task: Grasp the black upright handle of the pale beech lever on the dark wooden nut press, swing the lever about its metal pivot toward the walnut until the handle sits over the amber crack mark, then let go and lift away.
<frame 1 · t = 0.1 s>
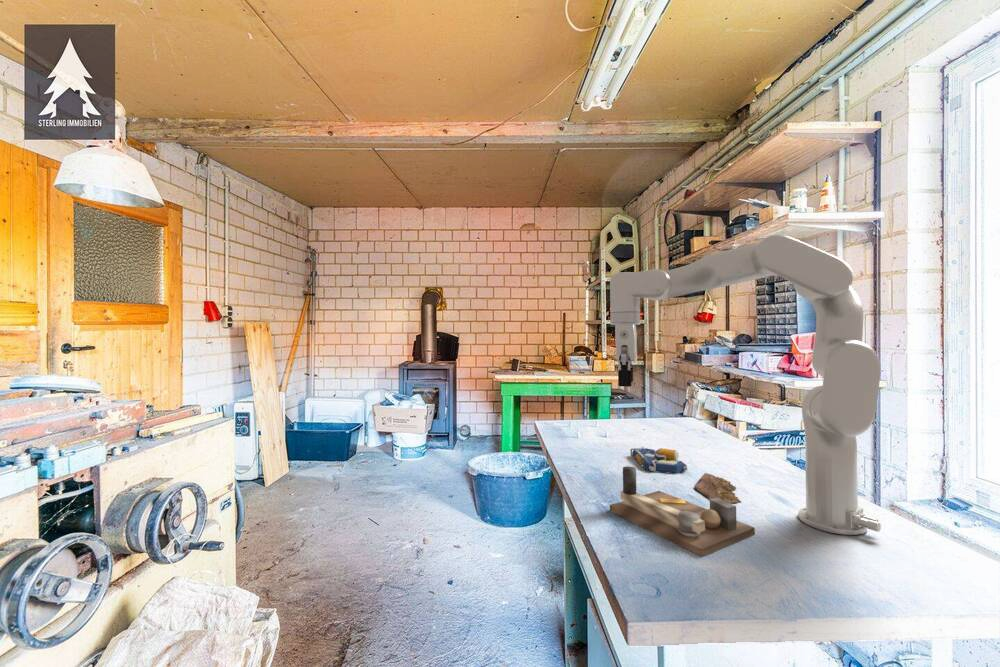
hand: (625, 383, 116), 31 cm above the table, tool pointing down, fingers open, 9 cm apart
lever: (658, 497, 101), point 7 cm above the table, hinge at 0.0°
wooden fragment: (714, 489, 124), on the table
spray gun: (660, 465, 147), on the table
press board: (677, 521, 103), on the table
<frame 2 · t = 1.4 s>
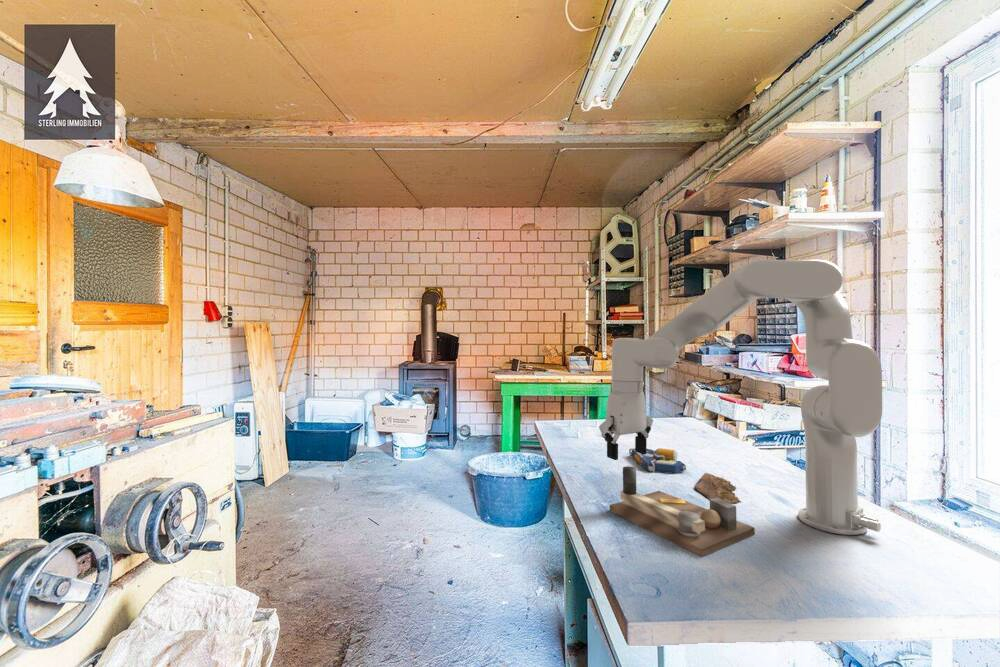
hand: (626, 455, 109), 14 cm above the table, tool pointing down, fingers open, 9 cm apart
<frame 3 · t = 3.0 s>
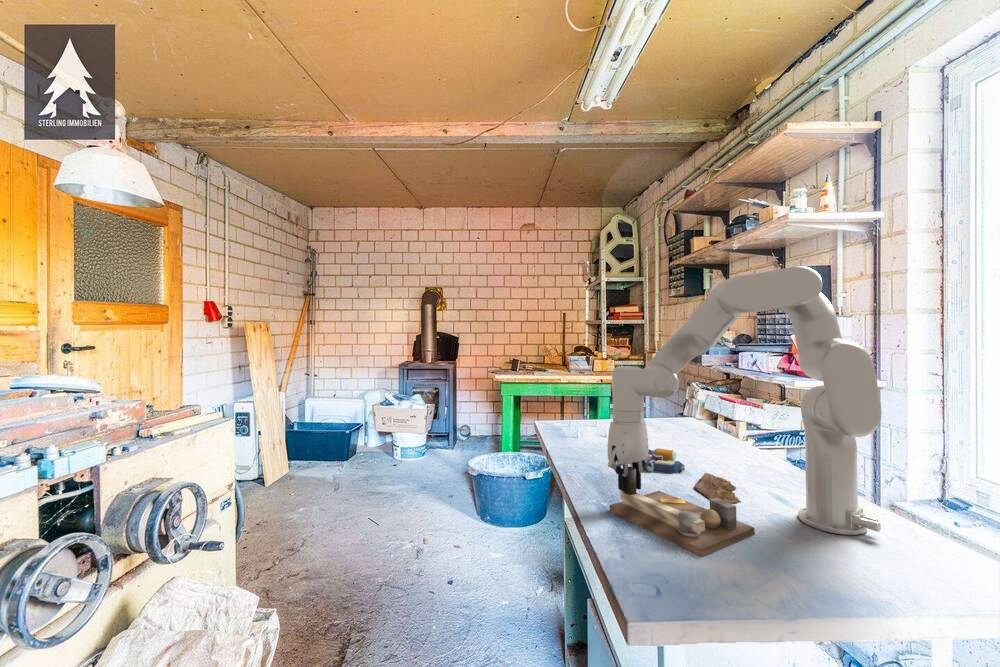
hand: (629, 488, 109), 6 cm above the table, tool pointing down, fingers closed on lever, 3 cm apart
lever: (658, 497, 101), point 7 cm above the table, hinge at 0.0°, touching gripper
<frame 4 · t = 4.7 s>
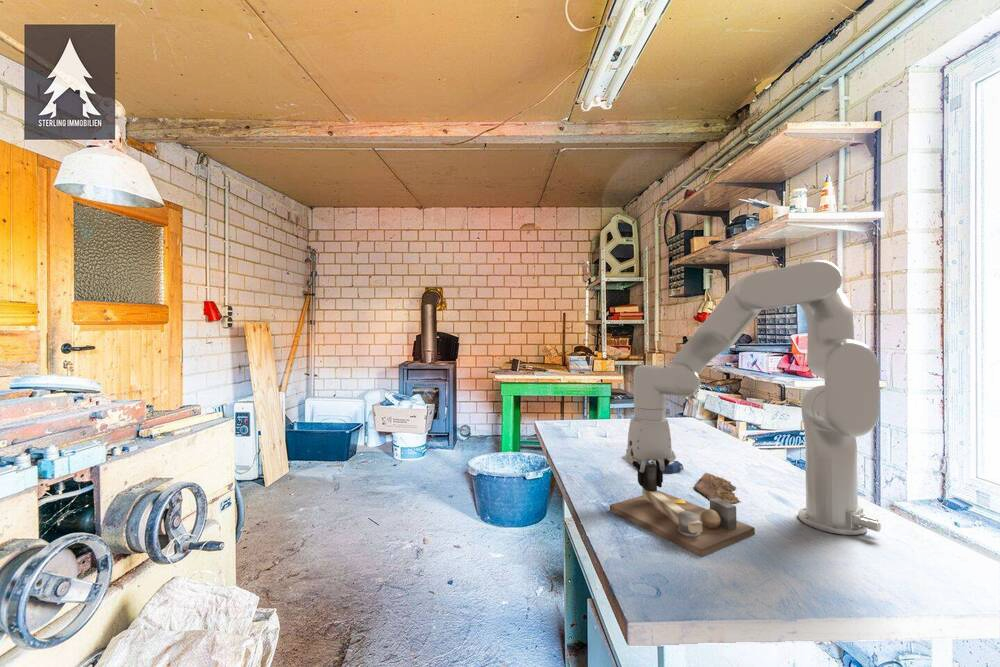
hand: (650, 485, 111), 6 cm above the table, tool pointing down, fingers closed on lever, 3 cm apart
lever: (669, 495, 102), point 7 cm above the table, hinge at 21.0°, touching gripper
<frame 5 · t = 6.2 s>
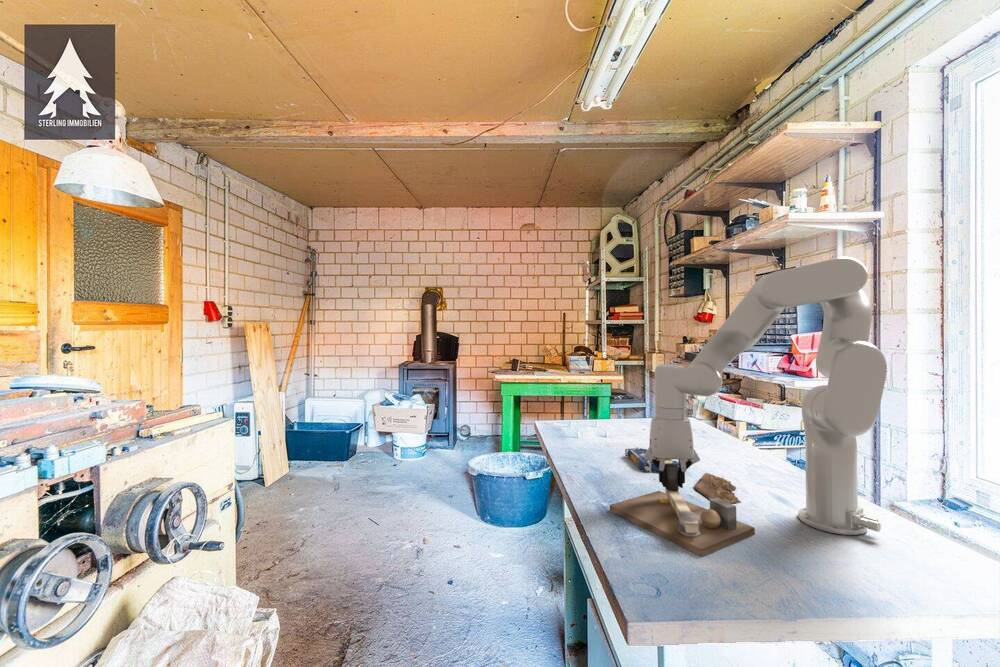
hand: (671, 484, 111), 6 cm above the table, tool pointing down, fingers closed on lever, 3 cm apart
lever: (680, 495, 102), point 7 cm above the table, hinge at 39.4°, touching gripper
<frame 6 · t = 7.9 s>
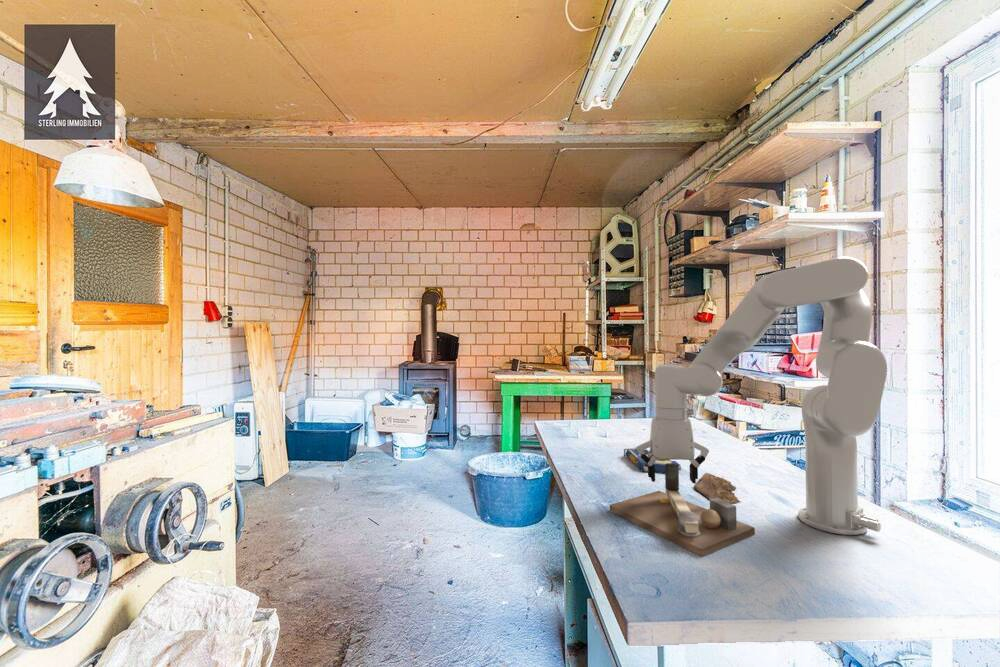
hand: (672, 480, 111), 7 cm above the table, tool pointing down, fingers open, 9 cm apart
lever: (680, 495, 102), point 7 cm above the table, hinge at 39.6°
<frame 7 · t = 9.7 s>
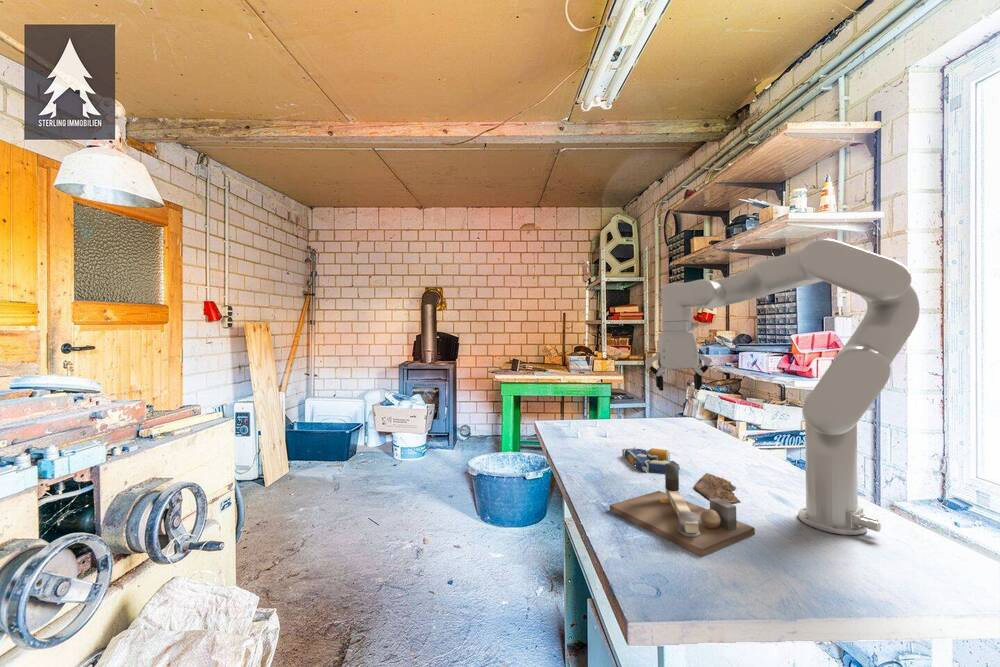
hand: (678, 389, 121), 28 cm above the table, tool pointing down, fingers open, 9 cm apart
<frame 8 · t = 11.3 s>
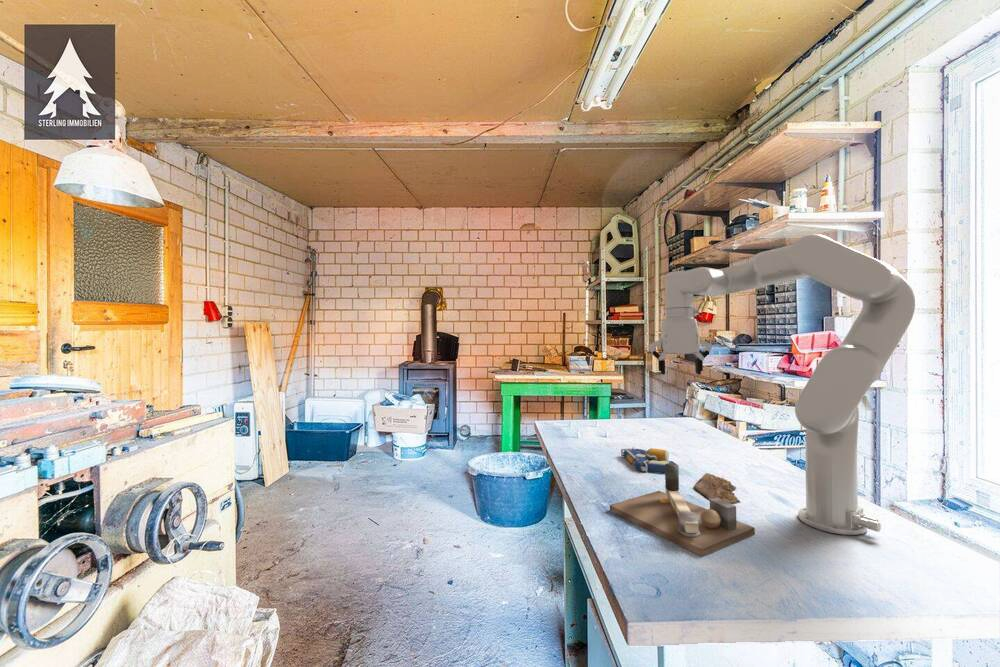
hand: (680, 373, 126), 32 cm above the table, tool pointing down, fingers open, 9 cm apart
at the end: lever at +40° (first picture: +0°) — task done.
